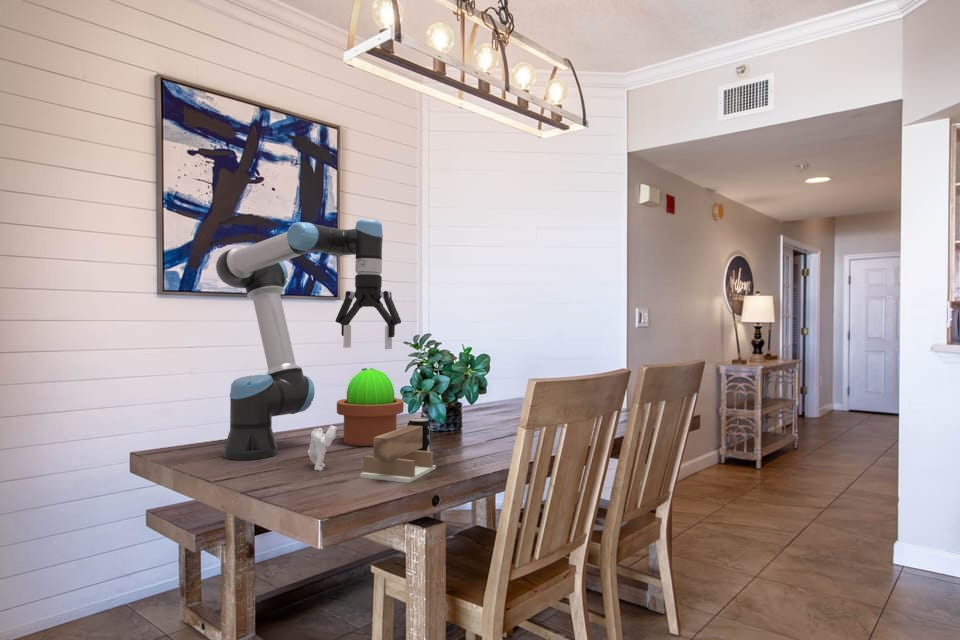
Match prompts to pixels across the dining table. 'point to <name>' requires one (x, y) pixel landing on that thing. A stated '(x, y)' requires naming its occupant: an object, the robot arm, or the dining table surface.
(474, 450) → the dining table surface
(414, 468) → the rest stand
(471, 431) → the dining table surface
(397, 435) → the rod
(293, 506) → the dining table surface
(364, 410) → the potted cactus
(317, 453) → the figurine
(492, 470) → the dining table surface
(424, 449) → the beverage can
